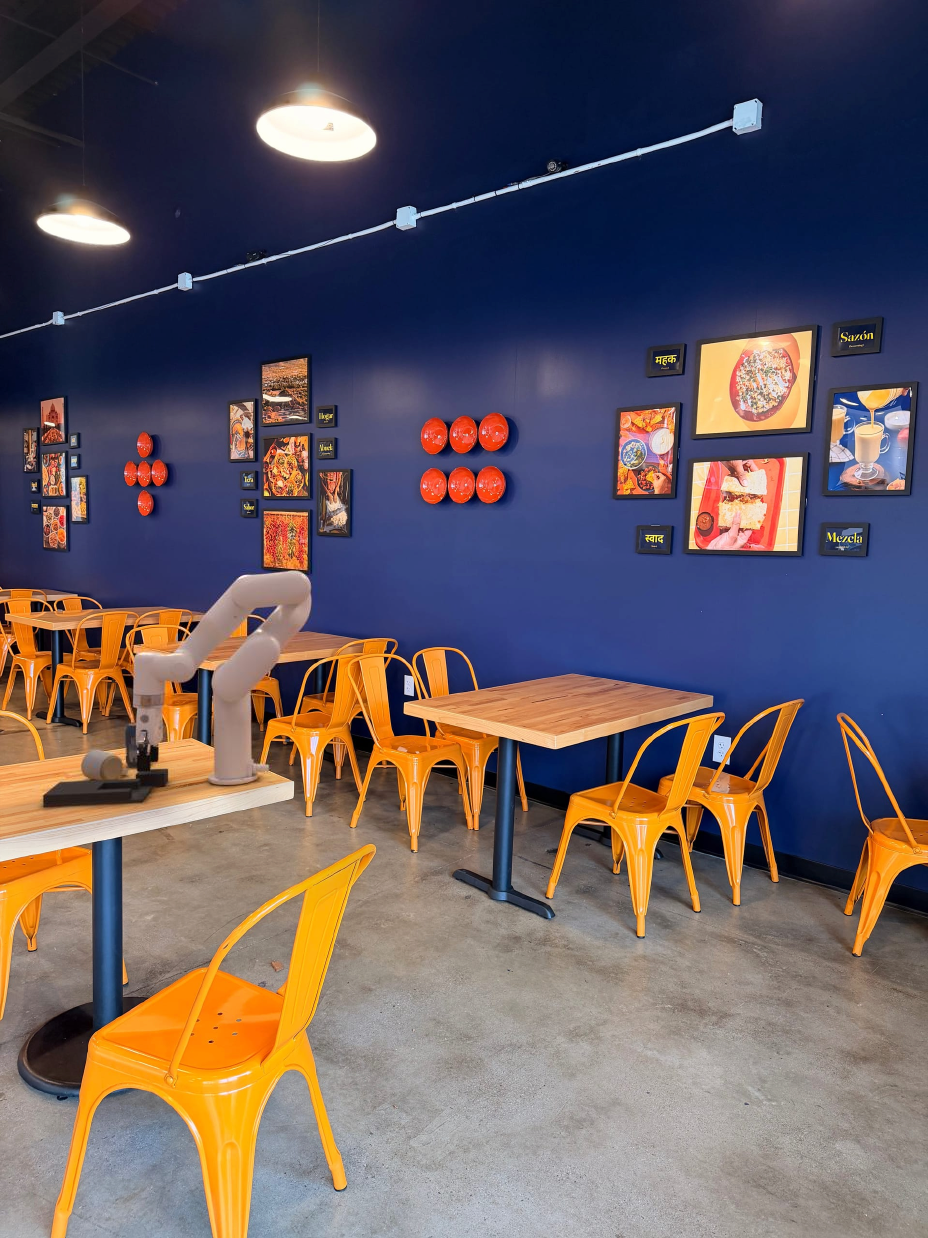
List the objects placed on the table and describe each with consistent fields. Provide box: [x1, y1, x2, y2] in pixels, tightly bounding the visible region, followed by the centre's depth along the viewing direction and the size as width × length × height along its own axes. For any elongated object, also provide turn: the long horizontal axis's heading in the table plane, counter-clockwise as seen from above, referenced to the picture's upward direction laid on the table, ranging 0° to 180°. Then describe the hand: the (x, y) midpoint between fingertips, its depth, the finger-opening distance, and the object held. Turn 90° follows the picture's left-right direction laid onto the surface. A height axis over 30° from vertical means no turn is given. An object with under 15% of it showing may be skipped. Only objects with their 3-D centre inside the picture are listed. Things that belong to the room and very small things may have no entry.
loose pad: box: [135, 768, 169, 788], centre depth 205 cm, size 7×5×4 cm
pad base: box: [42, 778, 154, 808], centre depth 194 cm, size 22×12×3 cm, turn 100°
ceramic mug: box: [80, 749, 129, 780], centre depth 211 cm, size 11×8×8 cm
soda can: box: [124, 721, 138, 769], centre depth 225 cm, size 7×7×12 cm
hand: (147, 766), depth 205 cm, fingers open, 9 cm apart
